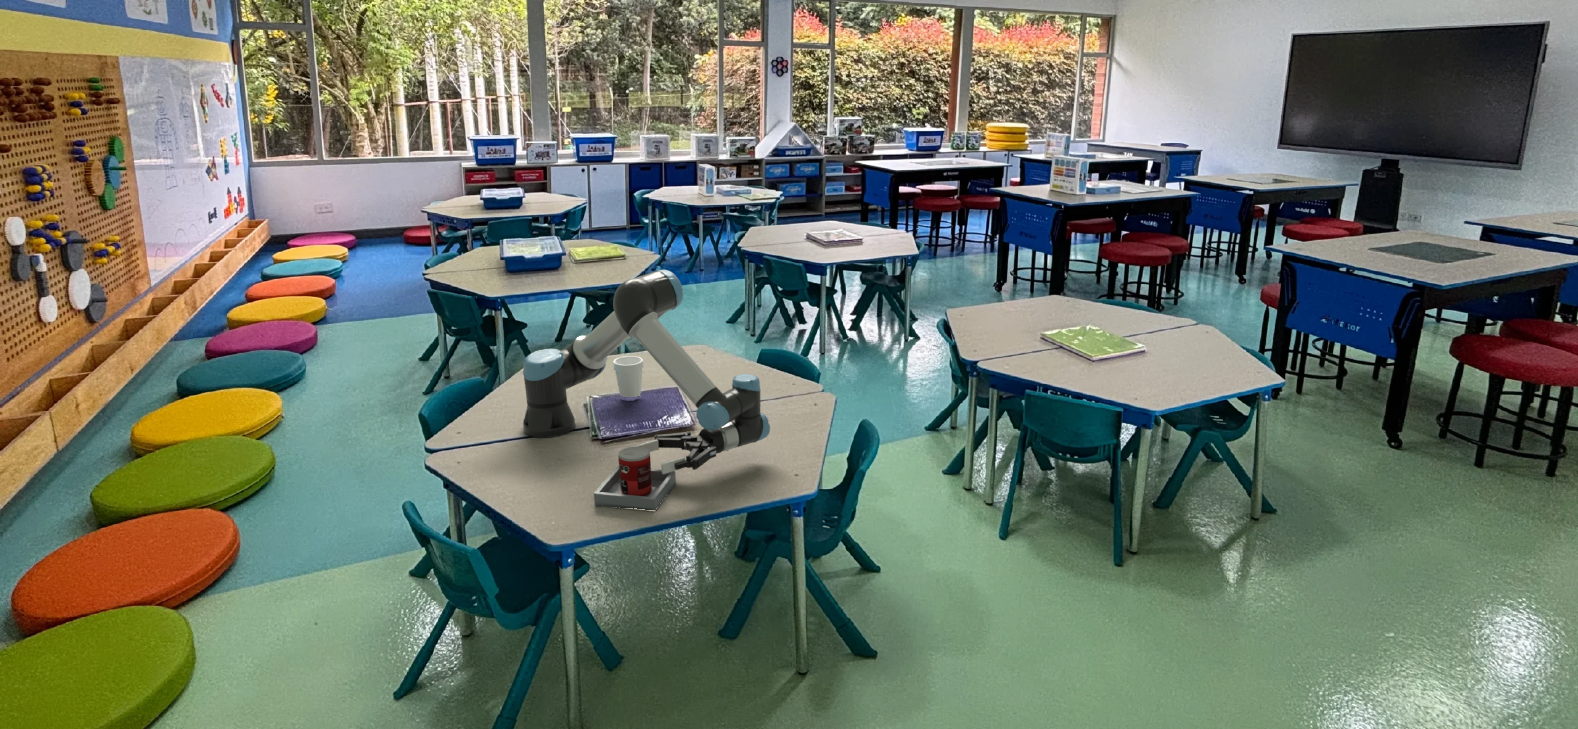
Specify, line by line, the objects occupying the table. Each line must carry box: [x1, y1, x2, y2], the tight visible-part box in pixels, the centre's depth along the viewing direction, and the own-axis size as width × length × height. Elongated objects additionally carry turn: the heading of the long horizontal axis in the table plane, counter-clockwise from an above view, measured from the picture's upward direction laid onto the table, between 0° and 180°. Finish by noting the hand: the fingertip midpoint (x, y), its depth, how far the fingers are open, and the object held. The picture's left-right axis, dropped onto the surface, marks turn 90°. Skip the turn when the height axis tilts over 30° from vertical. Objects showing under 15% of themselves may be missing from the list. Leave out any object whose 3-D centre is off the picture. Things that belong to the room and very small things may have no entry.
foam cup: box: [613, 355, 644, 397], centre depth 298 cm, size 10×9×13 cm
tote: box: [593, 465, 677, 511], centre depth 236 cm, size 16×16×4 cm
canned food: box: [618, 446, 652, 496], centre depth 235 cm, size 8×8×11 cm
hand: (648, 459), depth 236 cm, fingers open, 13 cm apart
